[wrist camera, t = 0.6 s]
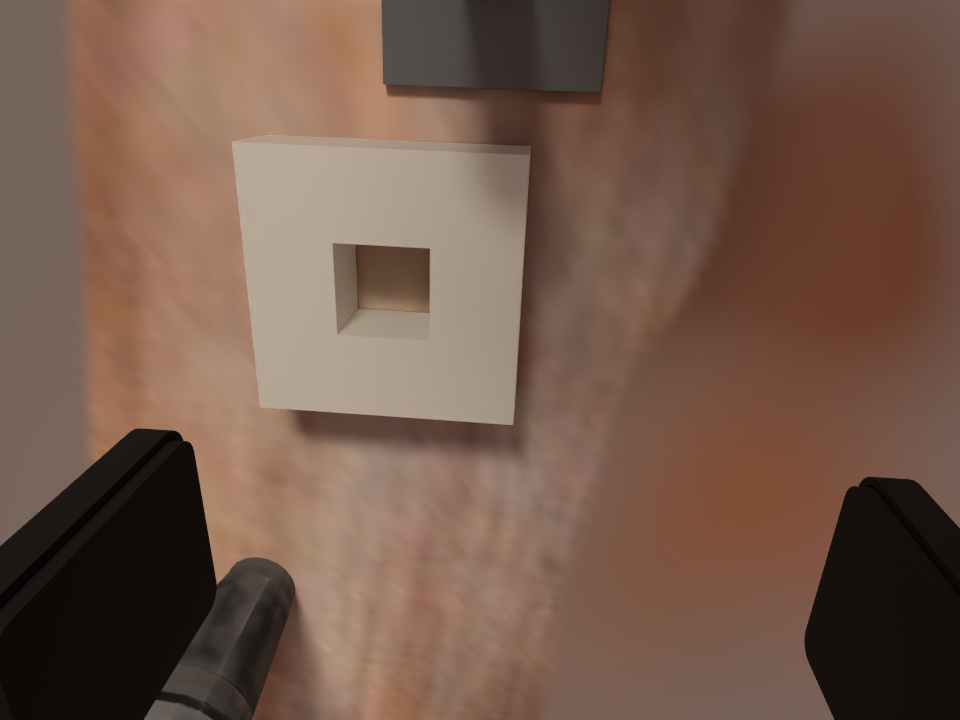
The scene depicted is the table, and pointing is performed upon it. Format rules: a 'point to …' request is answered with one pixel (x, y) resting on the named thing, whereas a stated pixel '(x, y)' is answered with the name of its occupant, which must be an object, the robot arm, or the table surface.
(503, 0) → the peg
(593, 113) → the table surface
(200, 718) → the beverage cup
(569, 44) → the mat
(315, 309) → the hole block
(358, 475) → the table surface
